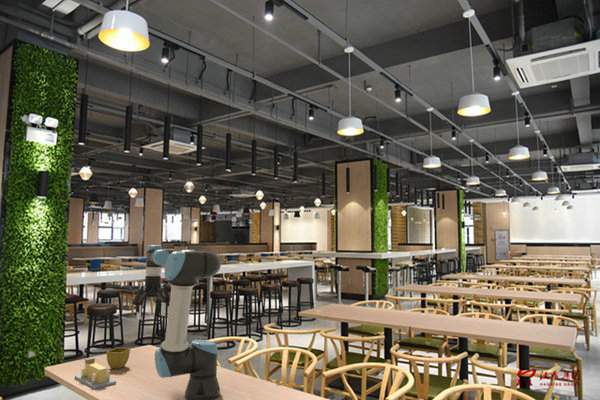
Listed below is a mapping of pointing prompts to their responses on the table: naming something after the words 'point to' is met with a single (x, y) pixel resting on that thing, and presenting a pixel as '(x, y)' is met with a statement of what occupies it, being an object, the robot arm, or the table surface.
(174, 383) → the table surface
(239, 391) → the table surface
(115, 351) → the flower pot
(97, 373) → the pale yellow block
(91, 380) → the peg board
